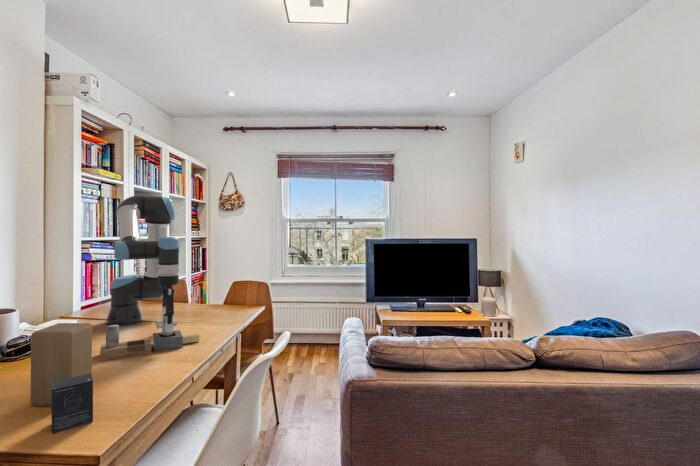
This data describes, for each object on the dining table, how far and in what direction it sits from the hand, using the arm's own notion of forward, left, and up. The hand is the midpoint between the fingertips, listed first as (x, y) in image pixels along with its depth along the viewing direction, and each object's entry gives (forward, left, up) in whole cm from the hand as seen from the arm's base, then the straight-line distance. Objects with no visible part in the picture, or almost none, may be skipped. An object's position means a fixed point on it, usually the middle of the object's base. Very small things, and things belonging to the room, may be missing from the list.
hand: (167, 328), depth 141 cm
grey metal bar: (0, 0, -7) cm, 7 cm away
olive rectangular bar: (0, +8, -7) cm, 11 cm away
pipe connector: (-17, +1, -8) cm, 19 cm away
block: (+34, -29, -8) cm, 45 cm away
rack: (+2, -15, -7) cm, 17 cm away
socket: (0, 0, -7) cm, 7 cm away
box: (+51, -25, -8) cm, 57 cm away
